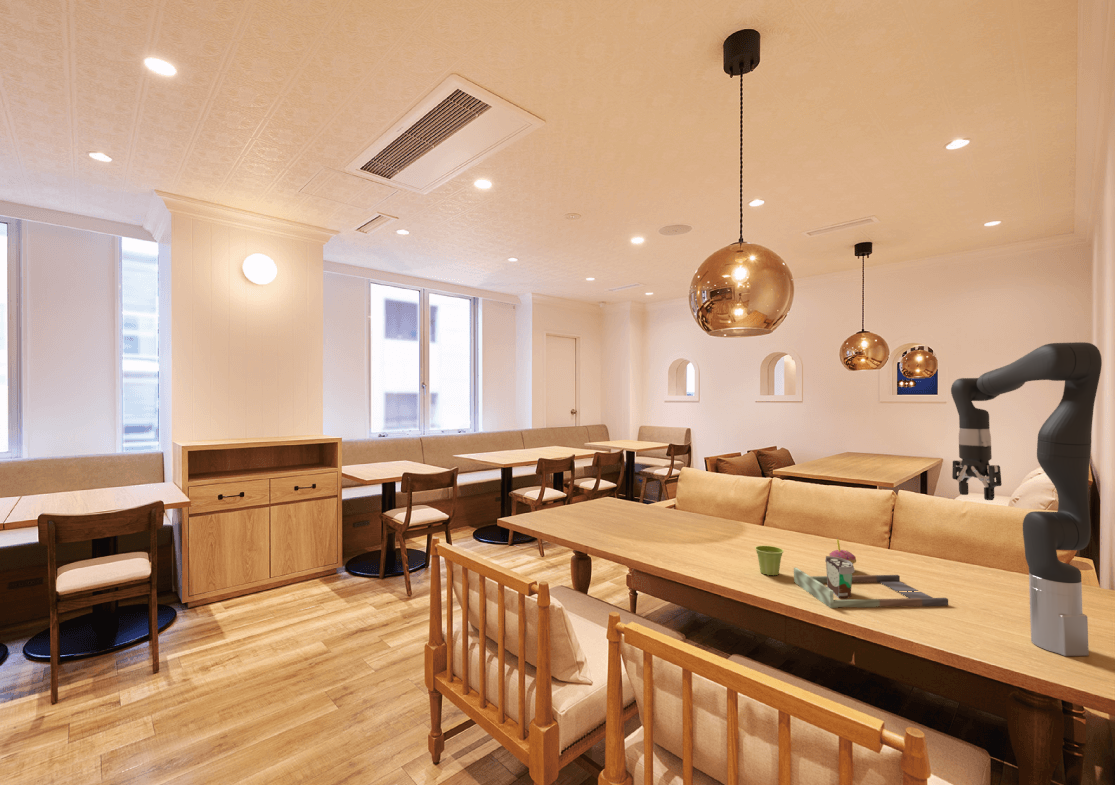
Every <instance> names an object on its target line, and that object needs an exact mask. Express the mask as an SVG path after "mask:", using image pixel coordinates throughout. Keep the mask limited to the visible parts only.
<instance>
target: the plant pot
mask: <svg viewBox="0 0 1115 785" xmlns="http://www.w3.org/2000/svg"><path fill="white" fill-rule="evenodd" d="M754 549H755V551H756V554H757V559H758V567H759V571H760V574H763V575H764V574H767V575H766V576H769V575H773V576H776V575H777V576H779V575H778V574H780V567H781V561H782V556H783V553H784V551H785V550H784V549H782V548H780V547H778V546H773V545H757V546H755V547H754Z"/></svg>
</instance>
